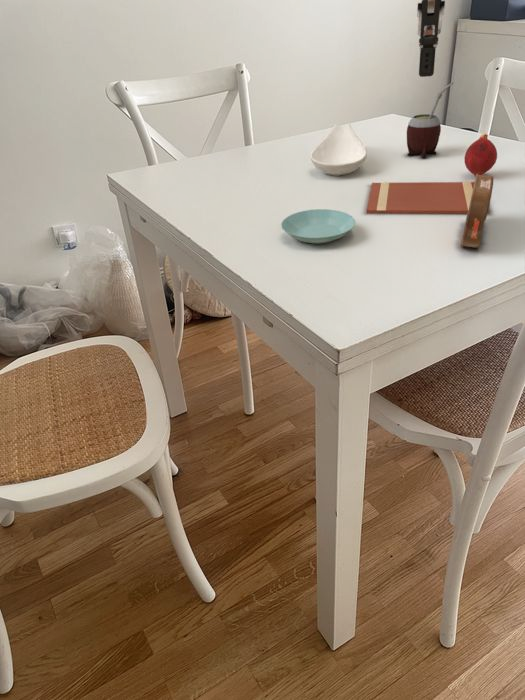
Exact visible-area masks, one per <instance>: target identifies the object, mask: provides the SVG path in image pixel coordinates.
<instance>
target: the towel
mask: <svg viewBox="0 0 525 700" xmlns="http://www.w3.org/2000/svg"><path fill="white" fill-rule="evenodd" d="M474 182H475V181H440V182H439V181H436V182H434V181H433V182H432V181H431V182H428V181H426V182H425V181H424V182H423V181H422V182H421V181H419V182H417V181H416V182H413V181H411V182H372V183H371V186H370V191H369V196H368V201H367V206H366V211H365V212H366V214H400V215H401V214H403V215H404V214H405V215H408V214H411V215H412V214H413V215H415V214H416V215H420V214H421V215H422V214H423V215H425V214H427V215H436V214H437V215H467V214H468V210H469V205H470V201H471V196H472V192H473V187H474ZM489 213H490V208H489V209H488V213H487V215H489Z"/></svg>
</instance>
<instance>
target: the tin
mask: <svg viewBox="0 0 525 700" xmlns="http://www.w3.org/2000/svg"><path fill="white" fill-rule="evenodd" d="M473 182H474V187H473V192H472V196H471V201H470V205H469V210H468V214H466V217H465V218H466V219H465V224H464V228H463V233H462V237H461V242H460V247H466V248H475V249H476V248H479V247H480V245H481V243H482V234H483V227H484V225H485V221H486V219H487V216H488V214H487V213H488V209H489V210H490V204H491V200H492V195H493V194H492V193H493V188H494V177H493V176H492V175H486V174H485V175H484V174H483V175H478V174H476V176H475V178H474V181H473Z"/></svg>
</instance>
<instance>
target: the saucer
mask: <svg viewBox="0 0 525 700" xmlns="http://www.w3.org/2000/svg"><path fill="white" fill-rule="evenodd" d="M355 225H356V219H355V217H353V215H351V214H349V213H347V212H344V211H341V210H336V209H329V208H328V209H326V208H325V209H324V208H323V209H322V208H318V209H317V208H315V209H307V210H302V211H297V212H294V213H292V214H290V215H288V216H287V217H285V218H283V220H282V221H281V229H282V230H283V231H284V232H285V233H286V234H287V235H289V236H290V237H292V238H294V239H296V240H297V241H300V242H303V243H308V244H326V243H331V242H333V241H336V240H339V239H340V238H343V237H344V236H345V235H346V234H348V233H349V232H350V231H351V230H352V229H353V228H355Z"/></svg>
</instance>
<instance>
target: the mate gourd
mask: <svg viewBox="0 0 525 700" xmlns="http://www.w3.org/2000/svg"><path fill="white" fill-rule="evenodd" d="M453 84H454V81H452V82H451V83H449V84H448V85H446V86H445V87H443V88H442V89H441V90H440V92H438V93H437V96H436V99H435V102H434V105H433V107H432V108H431V112H430V114H429V113H427V114H426V113H423V114H416V115H414V116H412V117H411V119H410V120H409V122H408V124H407V128H406V147H407V149H408V150H407V151H408V153H407V154H406V155H407V157H418V156H419V157H420V158H421V159H422V160H425V159H427V156H432V155H433V156H434V155H437V151H436V149H437V148H438V144H439V141H440V137H441V131H442V130H441V129H442V126H441V121H440V119H439V117H438V116H437V115H435V112H436V108H437V106H438V104H439V101H440V100H441V98H442V96H443V94H444V93H445V91H447V90H448V89H449V88H450V87H451V86H452V85H453Z"/></svg>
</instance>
